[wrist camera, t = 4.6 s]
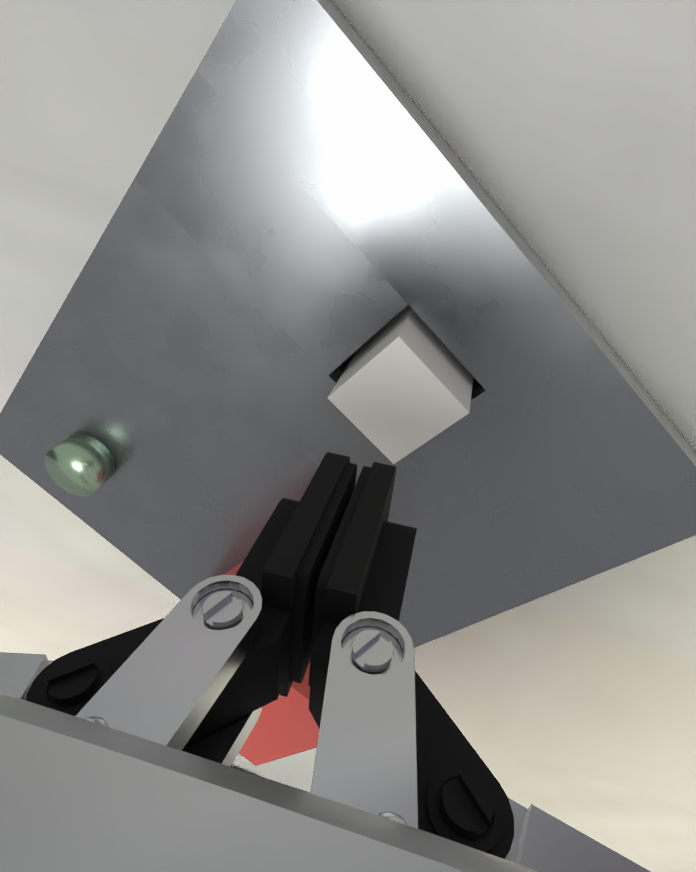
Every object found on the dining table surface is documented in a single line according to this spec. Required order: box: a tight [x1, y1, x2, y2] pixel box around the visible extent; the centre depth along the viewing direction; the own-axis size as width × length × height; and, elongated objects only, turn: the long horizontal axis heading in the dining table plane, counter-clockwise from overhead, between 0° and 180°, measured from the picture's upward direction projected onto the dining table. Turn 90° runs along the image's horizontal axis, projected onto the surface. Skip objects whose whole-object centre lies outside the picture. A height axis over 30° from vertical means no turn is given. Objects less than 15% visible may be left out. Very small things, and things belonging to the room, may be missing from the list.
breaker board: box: [0, 0, 696, 647], centre depth 20 cm, size 20×22×4 cm
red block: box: [224, 562, 320, 765], centre depth 21 cm, size 6×6×5 cm
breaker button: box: [327, 305, 473, 464], centre depth 17 cm, size 3×3×4 cm
